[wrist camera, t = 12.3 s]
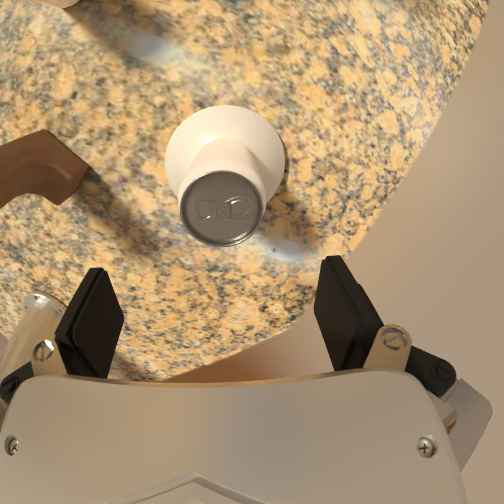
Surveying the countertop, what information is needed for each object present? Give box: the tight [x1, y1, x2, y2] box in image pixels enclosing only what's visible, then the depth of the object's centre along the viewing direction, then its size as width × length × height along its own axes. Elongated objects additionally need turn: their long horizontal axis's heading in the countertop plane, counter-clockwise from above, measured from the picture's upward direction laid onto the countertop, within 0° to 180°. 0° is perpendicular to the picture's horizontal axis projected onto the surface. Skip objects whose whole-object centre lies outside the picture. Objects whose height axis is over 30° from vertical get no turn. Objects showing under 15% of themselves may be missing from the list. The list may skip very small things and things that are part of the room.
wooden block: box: [0, 129, 88, 209], centre depth 18 cm, size 9×4×18 cm, turn 45°
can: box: [178, 138, 266, 247], centre depth 23 cm, size 6×6×12 cm
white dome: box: [165, 105, 285, 203], centre depth 28 cm, size 13×13×1 cm
